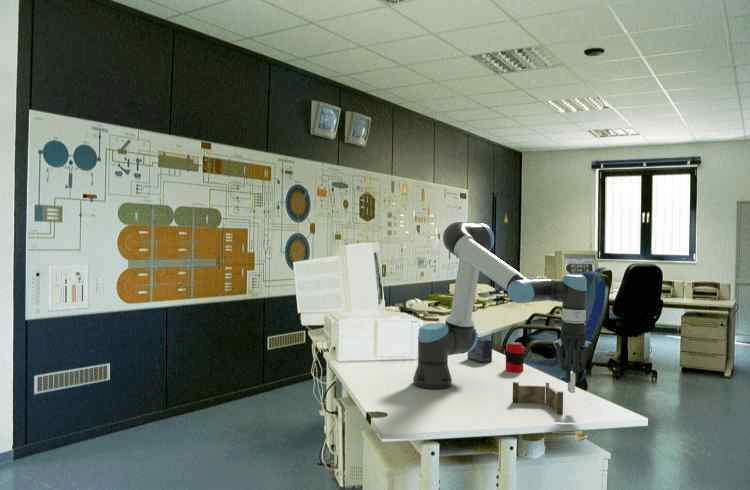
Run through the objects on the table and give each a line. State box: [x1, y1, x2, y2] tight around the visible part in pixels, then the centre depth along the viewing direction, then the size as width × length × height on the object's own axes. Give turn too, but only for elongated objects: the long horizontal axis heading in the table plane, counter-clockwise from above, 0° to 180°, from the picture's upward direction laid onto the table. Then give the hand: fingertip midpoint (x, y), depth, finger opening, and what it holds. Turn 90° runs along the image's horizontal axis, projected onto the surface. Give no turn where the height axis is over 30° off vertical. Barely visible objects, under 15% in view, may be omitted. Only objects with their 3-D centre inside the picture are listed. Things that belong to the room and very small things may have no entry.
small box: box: [467, 336, 493, 364], centre depth 262 cm, size 11×6×10 cm, turn 34°
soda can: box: [505, 341, 525, 373], centre depth 242 cm, size 8×8×12 cm
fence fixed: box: [512, 381, 546, 404], centre depth 193 cm, size 11×2×7 cm, turn 89°
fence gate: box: [544, 382, 564, 415], centre depth 186 cm, size 13×2×7 cm, turn 3°
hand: (571, 391), depth 185 cm, fingers closed
